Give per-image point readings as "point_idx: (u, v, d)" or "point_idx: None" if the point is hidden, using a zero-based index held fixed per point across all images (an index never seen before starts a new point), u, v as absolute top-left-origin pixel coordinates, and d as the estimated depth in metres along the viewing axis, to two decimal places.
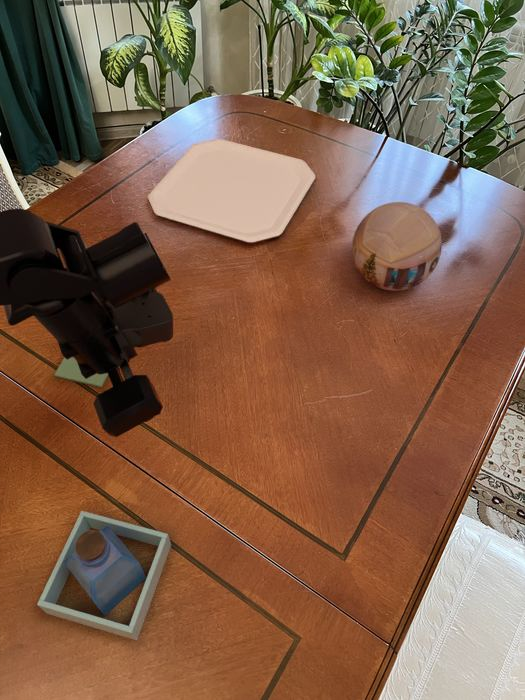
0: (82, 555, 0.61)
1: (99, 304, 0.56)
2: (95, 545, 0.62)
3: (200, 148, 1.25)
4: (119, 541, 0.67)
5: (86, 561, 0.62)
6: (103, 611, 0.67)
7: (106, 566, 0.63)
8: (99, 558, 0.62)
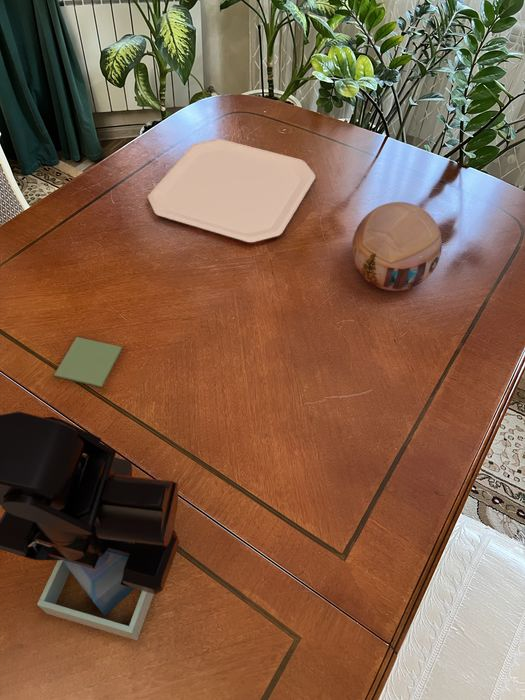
0: None
1: None
2: None
3: (200, 148, 1.25)
4: None
5: None
6: (103, 611, 0.67)
7: (106, 566, 0.63)
8: (99, 558, 0.62)
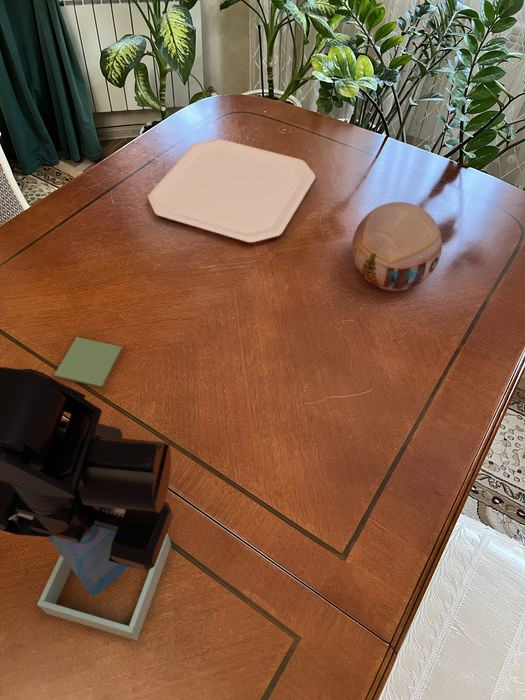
0: None
1: None
2: None
3: (200, 148, 1.25)
4: None
5: None
6: (92, 592, 0.62)
7: (94, 543, 0.59)
8: (86, 533, 0.57)
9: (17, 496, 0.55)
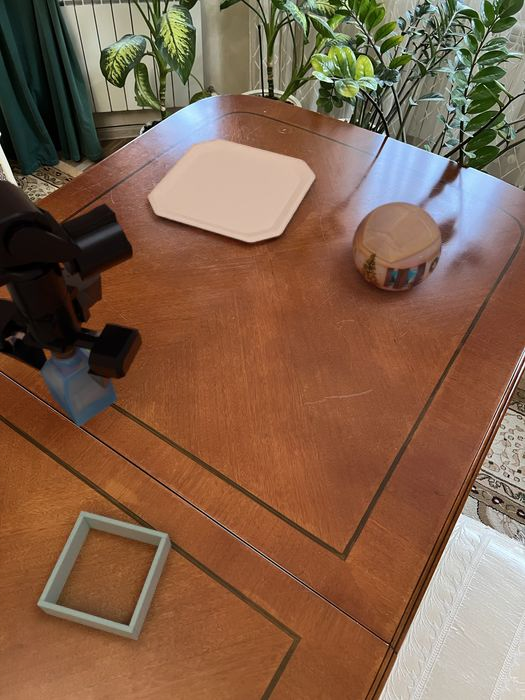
0: (55, 352, 0.68)
1: None
2: None
3: (200, 148, 1.25)
4: None
5: (59, 359, 0.68)
6: (76, 420, 0.74)
7: (77, 369, 0.70)
8: (71, 357, 0.69)
9: (13, 322, 0.67)
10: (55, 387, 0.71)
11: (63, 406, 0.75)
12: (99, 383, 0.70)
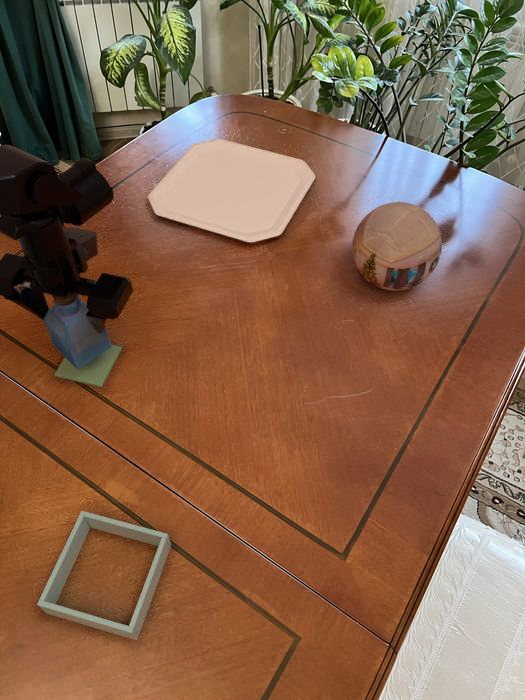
0: (57, 298, 0.78)
1: None
2: None
3: (200, 148, 1.25)
4: None
5: (60, 306, 0.79)
6: (76, 362, 0.84)
7: (76, 315, 0.81)
8: (71, 304, 0.79)
9: (20, 272, 0.77)
10: (57, 332, 0.81)
11: (64, 351, 0.85)
12: (95, 327, 0.81)
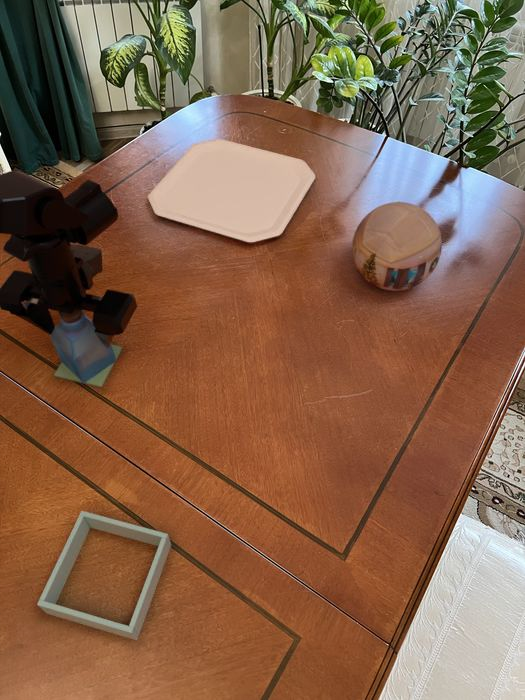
0: (64, 316, 0.81)
1: None
2: (74, 310, 0.81)
3: (200, 148, 1.25)
4: None
5: (67, 323, 0.82)
6: (82, 377, 0.87)
7: (82, 332, 0.83)
8: (77, 321, 0.82)
9: (28, 289, 0.80)
10: (64, 348, 0.84)
11: (70, 366, 0.88)
12: (103, 342, 0.83)
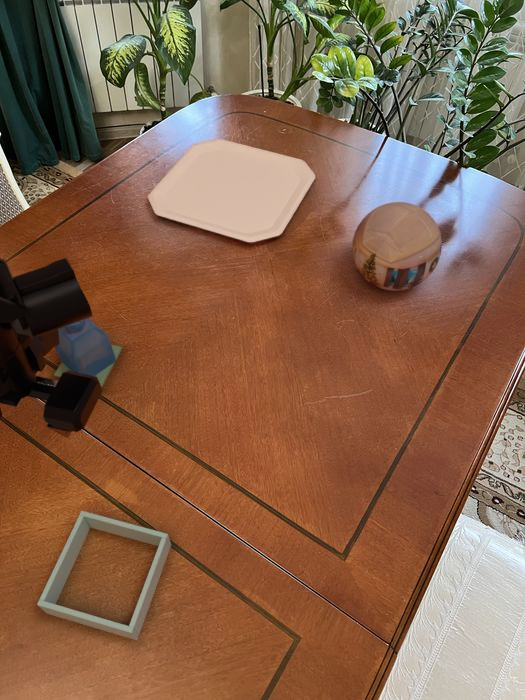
0: None
1: (16, 333, 0.57)
2: None
3: (200, 148, 1.25)
4: None
5: None
6: None
7: (82, 332, 0.83)
8: None
9: None
10: (64, 348, 0.84)
11: (70, 366, 0.88)
12: (61, 434, 0.66)
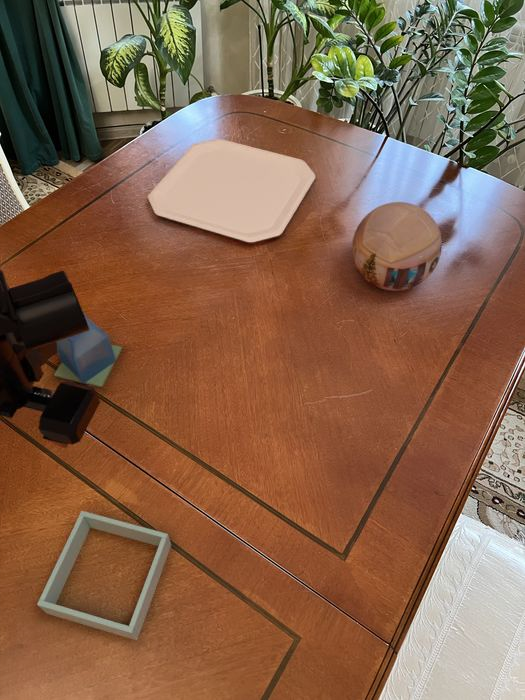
0: None
1: (11, 345, 0.56)
2: None
3: (200, 148, 1.25)
4: None
5: None
6: (82, 377, 0.87)
7: None
8: None
9: None
10: (64, 348, 0.84)
11: (70, 366, 0.88)
12: (58, 445, 0.65)
